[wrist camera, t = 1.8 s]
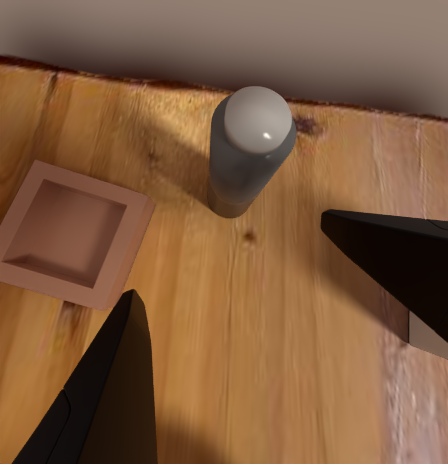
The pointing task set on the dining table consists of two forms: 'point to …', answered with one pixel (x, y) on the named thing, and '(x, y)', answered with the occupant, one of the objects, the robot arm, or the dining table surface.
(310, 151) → the dining table surface
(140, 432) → the robot arm
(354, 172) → the dining table surface
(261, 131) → the pepper mill
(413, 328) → the milk carton
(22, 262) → the terracotta holder
